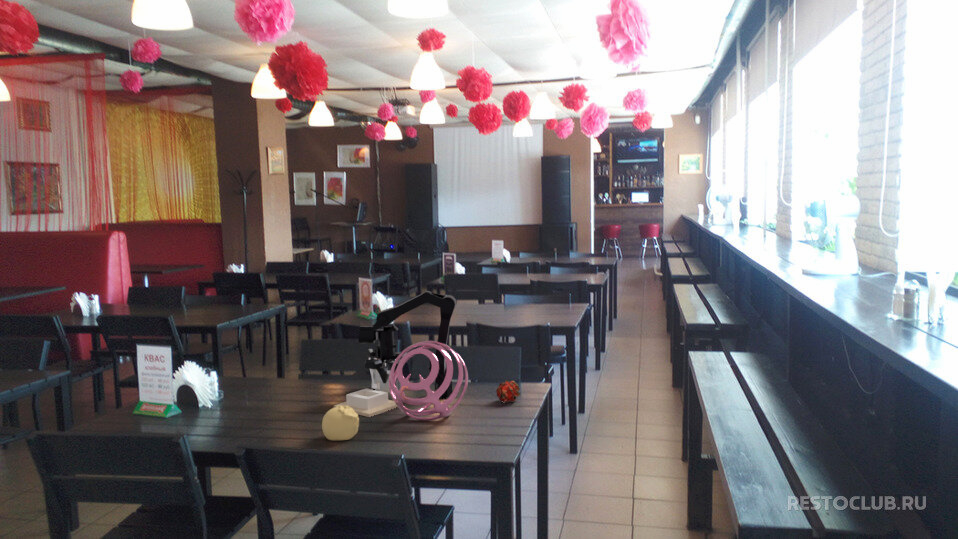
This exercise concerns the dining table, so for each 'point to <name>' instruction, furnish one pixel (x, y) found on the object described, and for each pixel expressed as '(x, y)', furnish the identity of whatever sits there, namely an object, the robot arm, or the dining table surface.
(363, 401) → the cream square frame
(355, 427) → the sculpture
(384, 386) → the grey wooden block
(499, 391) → the dragon fruit
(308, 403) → the dining table surface
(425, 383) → the pink openwork sphere
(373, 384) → the beer glass
